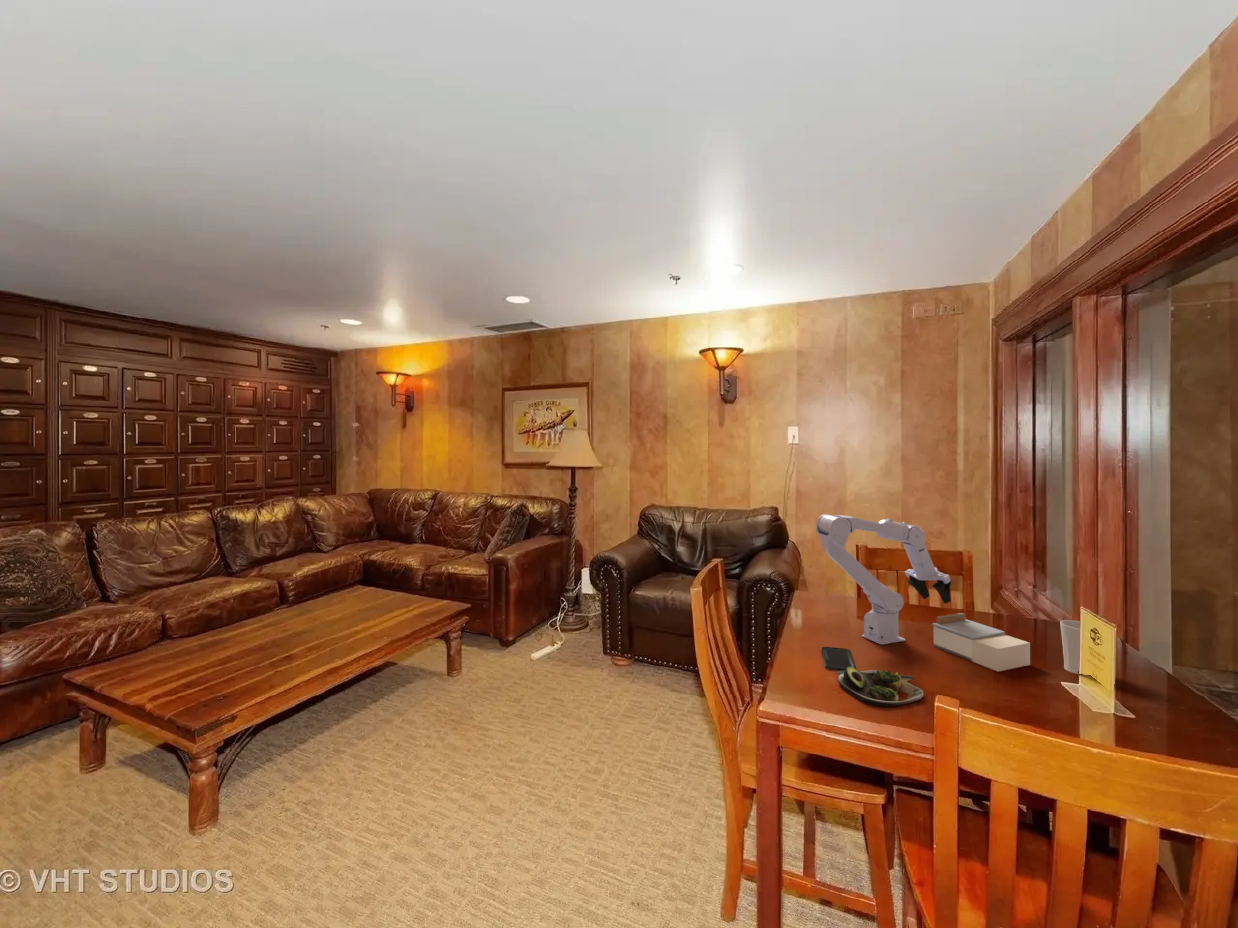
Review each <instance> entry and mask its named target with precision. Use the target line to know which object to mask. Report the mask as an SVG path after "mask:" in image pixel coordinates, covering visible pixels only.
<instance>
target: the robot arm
mask: <svg viewBox="0 0 1238 928" xmlns="http://www.w3.org/2000/svg"><path fill="white" fill-rule="evenodd" d="M817 518H818V519H817V521H816V528H815V531H816V533H817V535H818V536H819V538H820V542H821V545H822V548H823V551H824V553H825V554H826V555H827V556H828V557H829V558H830V559H831V560H832V561H833V562H834V563H836V565H837V566H839V567H840V568H841V569H842V571H844V572H845V573H846V574H847V575H848V576H849V577H850V578H851V579H852V580H853V581H854V582H855V583H857V584H858V585H859V586H860V587H861V588H862V589H863V590H862V592H863V593H864V594H865V595H866V597H867V599H868V601H869V603H870V604H871V610H870V611H868V612H866V613H865V614H864V617H863V634H862V635H861V636H862V638H863V637H864V639H865V638H866V639H867V640H870V641H873V642H875V643H877V644H879V645H883V646H884V645H888V644H894V643H899V642H905V641H906V639H905V638H904V637H901V636H899V613H900V611H901V610H902V608H903V607H904V601H905V600H904V598H903V596H902V595H901V594H900V593H898V592H896V591H893V590H891V588H889V587H888V586H886V585H885V584H883V583H882V582H880V580H878V578H876V577H875V576H874V575H873V574H872V573H871V572H870V571H869V570H868V569H867V568H866V567H865V566H864V565H863V564H862V563H861V562H859V561H858V559H856V558H855V557H854V556H853V555H852V553H850V552H849V551H847V549H846V548H845V547H846V543H847V541H848V538H849V536H850V533H854V532H855V531H856V530H861V531H865V532H872V533H876V535H877V536H878V538H880V539H886V540H889V541H895V542H899V543H902V545H903V547H904V550H905V553H906V555H907V557H908V560H909V562H910V565H911V567H912V568H909V569H906V570H905V571H904V574H905V576H906V578H909V579H907V583H908V584H909V585H911V586H912V587H913V588H914V589H915V590H916V591H917V592H918V594H919V596H921V598H922V600H926V599H927V598H928V597H930V592H929V590H928V587H927V583H926V581H936V582H935V583H934V584H932V587H933V588H934V589H935V590H936V591H937V594H939V596H940V599H941V600H942V602H943V603H944V604H948V603H949V602H951V585H952V581H953V580H952V579H951V577H950V575H949V574H946V573H944V572H941V571H939V570H938V568H937V567H935V565H934V562H933V561H932V557H931V556H930V553H929V550H928V549H927V546H926V543H925V540H926V532H925V531H923V530H922V528H920V527H919V526H917V525H912V524H907V522H904V521H900V522H897V521H894V520H893V518H886V519H881V520H879V521H878V522H876V521H872V520H868V519H864V518H859V517H855V516H851V515H845V514H844V515H841V514H833V515H832V514H829V513H824V514H821V515H820V516H819V517H817Z"/></svg>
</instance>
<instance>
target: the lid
mask: <svg viewBox="0 0 1238 928" xmlns="http://www.w3.org/2000/svg"><path fill="white" fill-rule="evenodd" d="M931 625H932V626H936V627H939V628H942V629H945V630H948V631H950V632H953V633H956V634H959V635H962V636H965V637H968V638H970V639H976V638H982V637H987V636H993V635H998V634H1004V635H1005V634H1006V633H1005V632H1006V631H1004V630H1001V629H998V628H995V627H991V626H988V625H985V624H983V623H979V622H976V621H973V620H969V619H967V618H966V613H964V612H959V613H958V612H957V613H953V614H951V613H950V614H946V615H945V614H944V615H940V616H939V615H938V616H936V622H933V623H932V624H931Z"/></svg>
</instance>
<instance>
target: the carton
mask: <svg viewBox="0 0 1238 928" xmlns="http://www.w3.org/2000/svg"><path fill="white" fill-rule="evenodd" d="M932 626H933V625H932ZM932 633H933V647H935V648H937V649H940V650H942V651H945V652H947V653H950V654H952V655H955V656H957V657H960V658H961V659H965V660H967V661H970V662H972V663H976V664H978V665H980V666H982V667H985V668H988V669H989V670H993V671H995V672H1003V671H1007V670H1012V669H1017V668H1021V667H1022V668H1023V667H1027V666H1030V665H1031V642H1030V641H1029V642H1028V641H1026V640H1023V639H1020V638H1016V637H1013V636H1011V635H1007V634H1005V633H1004V634H998V635H993V636H987V637H982V638H976V639H970V638H968V637H965V636H962V635H959V634H956V633H953V632H950V631H948V630H945V629H942V628H939V627H936V626H933V632H932Z"/></svg>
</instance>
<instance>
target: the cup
mask: <svg viewBox="0 0 1238 928" xmlns="http://www.w3.org/2000/svg"><path fill="white" fill-rule="evenodd" d="M1080 621H1081V620H1072V619H1071V620H1070V619H1064V620H1063V619H1062V620H1060V621H1059V624H1060V634H1061V643H1062V653H1063V664H1064V665H1063V668H1064V670H1066V671H1068V672H1069V673H1072V674H1076V675H1079V674H1078V671H1079V656H1080Z"/></svg>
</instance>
